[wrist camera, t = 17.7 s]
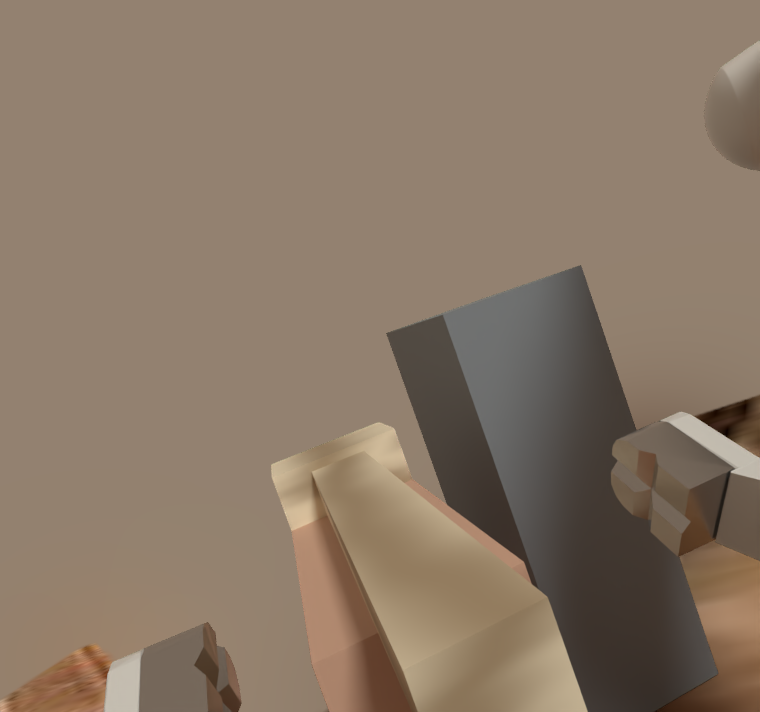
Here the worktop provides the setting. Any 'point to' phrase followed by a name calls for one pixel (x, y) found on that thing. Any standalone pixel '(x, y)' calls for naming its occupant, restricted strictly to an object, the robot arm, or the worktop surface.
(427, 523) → the T-bar
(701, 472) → the robot arm
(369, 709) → the tan upright block
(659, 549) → the grey upright block
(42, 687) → the worktop surface
